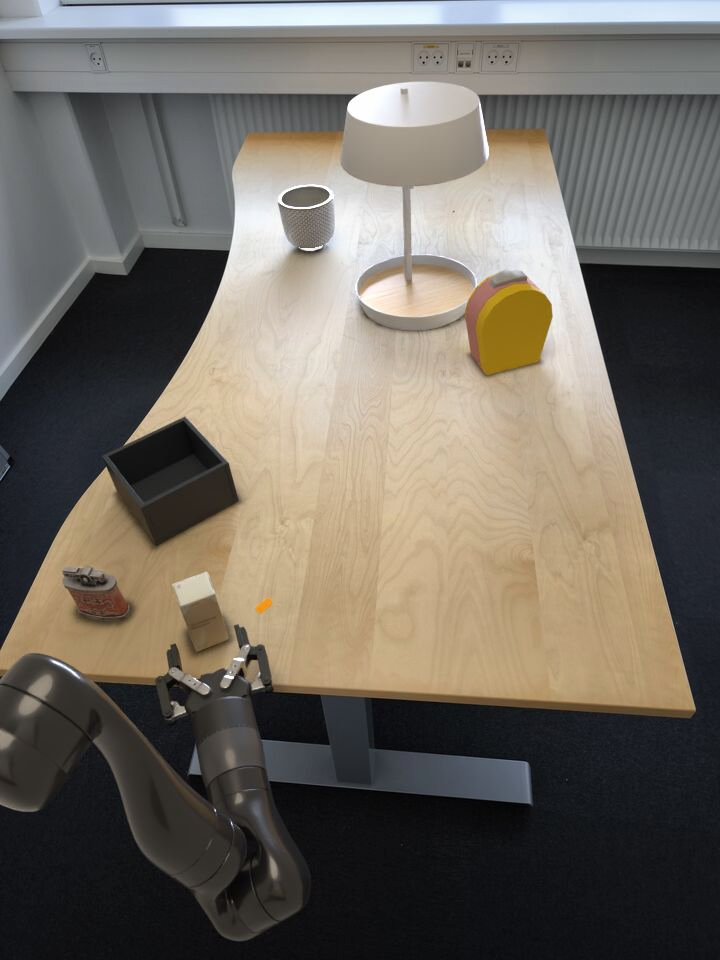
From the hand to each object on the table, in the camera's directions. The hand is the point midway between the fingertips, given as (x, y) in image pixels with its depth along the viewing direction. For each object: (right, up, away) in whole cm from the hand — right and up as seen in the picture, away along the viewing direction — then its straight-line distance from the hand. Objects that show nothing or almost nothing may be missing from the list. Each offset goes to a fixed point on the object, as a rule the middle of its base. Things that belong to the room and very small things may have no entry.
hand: (205, 637), depth 98 cm
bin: (-11, +18, +28) cm, 36 cm away
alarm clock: (+50, +46, +51) cm, 85 cm away
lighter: (-18, +1, +12) cm, 22 cm away
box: (-1, -1, +8) cm, 8 cm away
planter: (+8, +81, +91) cm, 122 cm away
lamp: (+33, +62, +69) cm, 98 cm away
